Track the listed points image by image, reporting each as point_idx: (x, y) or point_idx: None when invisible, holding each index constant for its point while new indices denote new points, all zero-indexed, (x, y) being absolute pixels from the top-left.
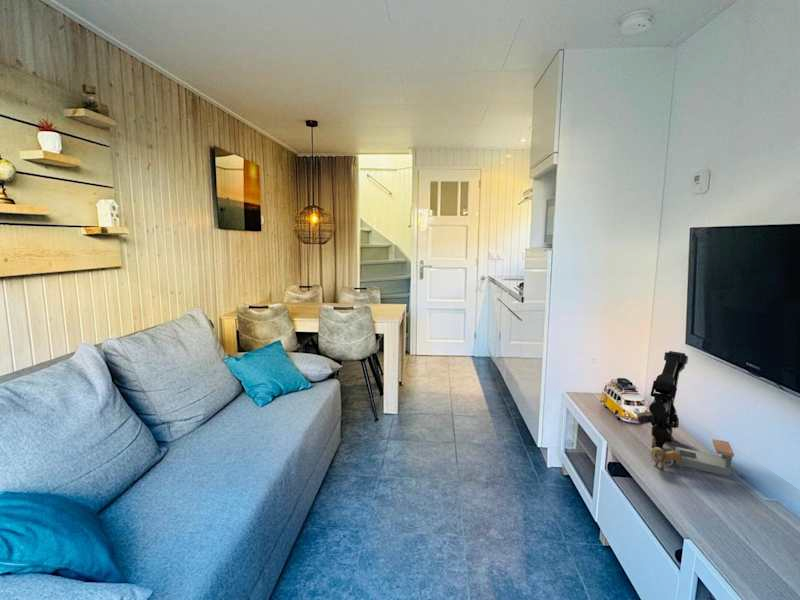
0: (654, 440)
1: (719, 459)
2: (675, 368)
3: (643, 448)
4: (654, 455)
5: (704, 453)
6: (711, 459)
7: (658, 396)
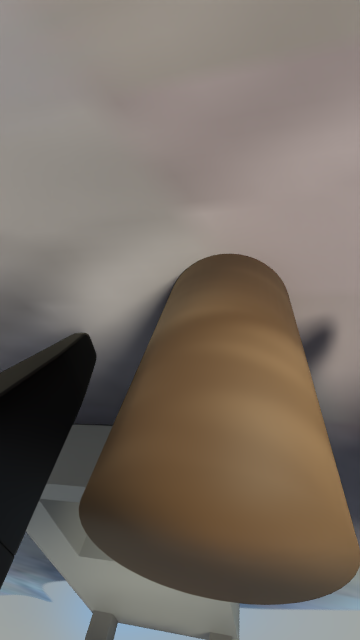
0: (147, 349)
1: (179, 621)
2: None
3: (112, 160)
4: None
5: (216, 600)
6: (145, 599)
7: None
